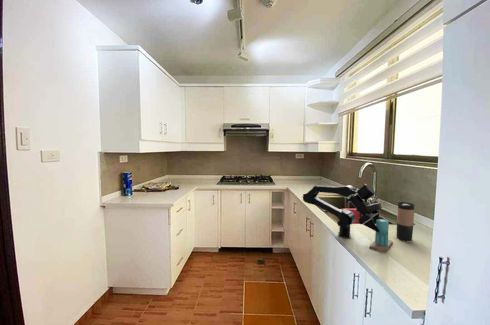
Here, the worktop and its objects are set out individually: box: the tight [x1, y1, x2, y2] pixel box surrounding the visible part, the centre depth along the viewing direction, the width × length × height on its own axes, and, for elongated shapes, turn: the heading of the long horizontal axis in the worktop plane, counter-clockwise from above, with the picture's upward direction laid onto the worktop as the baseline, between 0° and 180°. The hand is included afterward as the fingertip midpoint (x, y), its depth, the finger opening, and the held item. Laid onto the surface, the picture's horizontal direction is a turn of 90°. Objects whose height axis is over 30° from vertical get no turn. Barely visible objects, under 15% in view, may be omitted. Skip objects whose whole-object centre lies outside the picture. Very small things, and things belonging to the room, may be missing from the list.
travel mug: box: [396, 201, 415, 242], centre depth 129 cm, size 8×8×20 cm
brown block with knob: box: [369, 239, 394, 253], centre depth 121 cm, size 7×16×4 cm, turn 136°
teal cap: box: [374, 218, 390, 246], centre depth 120 cm, size 6×6×12 cm
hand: (381, 229), depth 120 cm, fingers open, 9 cm apart
